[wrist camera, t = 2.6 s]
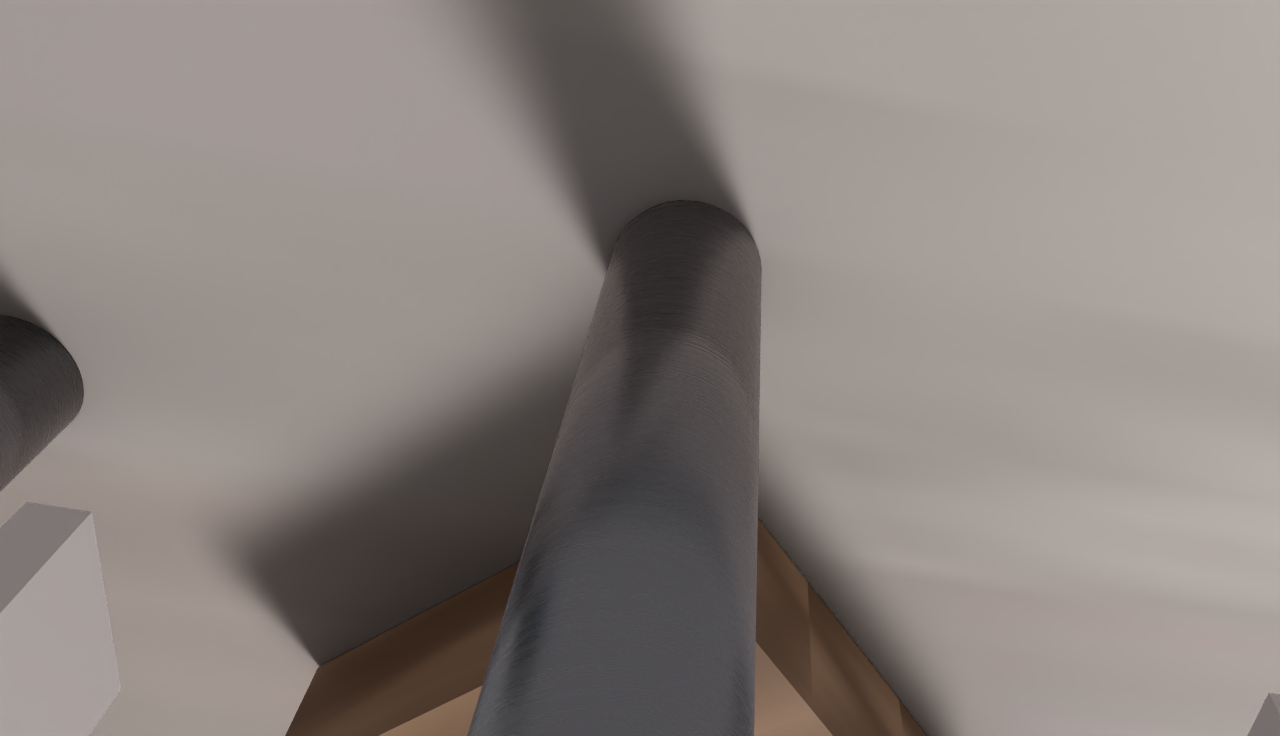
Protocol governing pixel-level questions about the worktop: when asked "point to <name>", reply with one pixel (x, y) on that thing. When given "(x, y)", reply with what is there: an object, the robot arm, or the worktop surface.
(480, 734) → the long pin
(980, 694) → the worktop surface
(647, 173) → the worktop surface
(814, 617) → the hole block
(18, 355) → the short pin
